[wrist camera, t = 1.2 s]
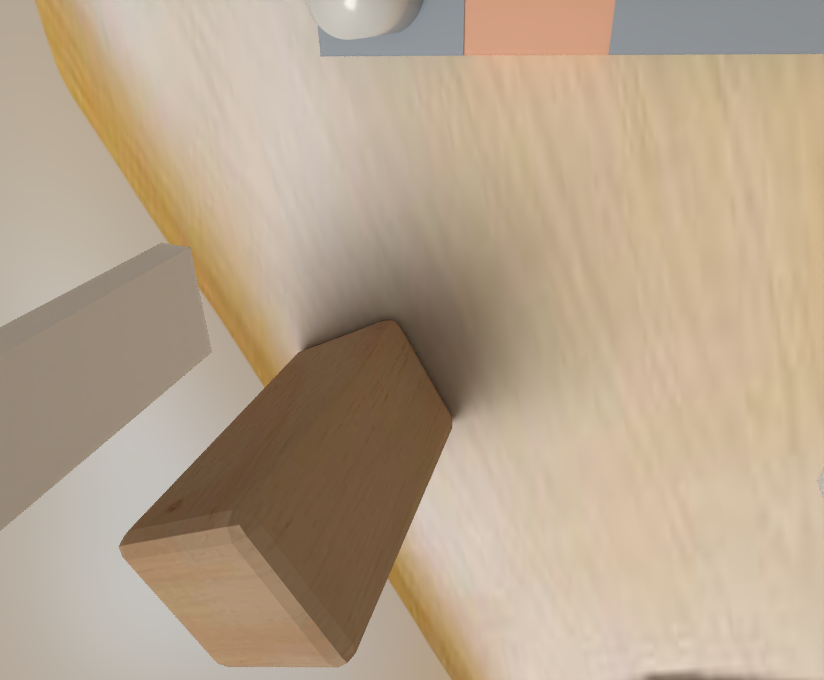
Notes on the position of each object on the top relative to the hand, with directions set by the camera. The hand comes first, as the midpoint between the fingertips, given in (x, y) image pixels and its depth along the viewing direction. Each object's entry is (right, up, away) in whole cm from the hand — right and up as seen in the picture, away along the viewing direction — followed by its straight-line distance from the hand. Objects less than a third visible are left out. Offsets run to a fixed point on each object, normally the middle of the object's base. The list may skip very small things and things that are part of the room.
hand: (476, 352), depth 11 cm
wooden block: (-4, -3, +33) cm, 33 cm away
